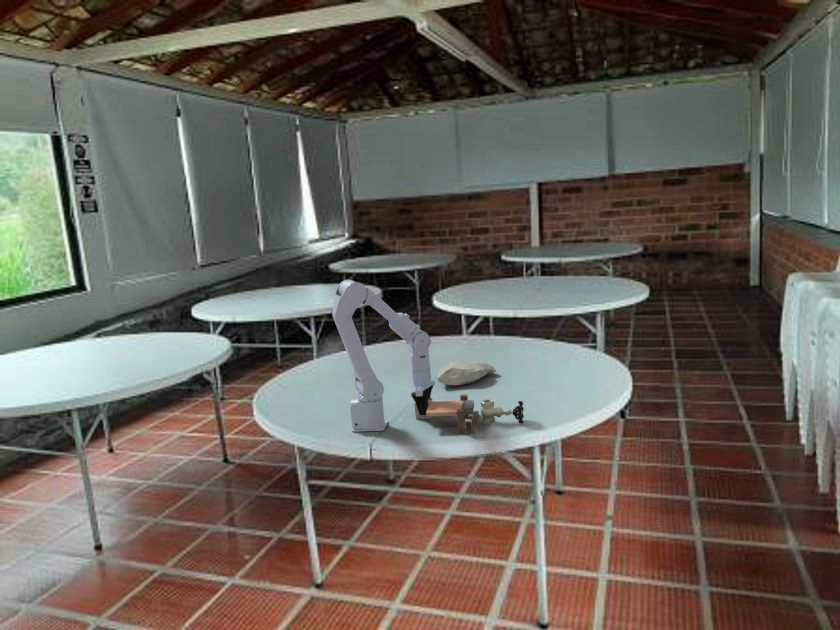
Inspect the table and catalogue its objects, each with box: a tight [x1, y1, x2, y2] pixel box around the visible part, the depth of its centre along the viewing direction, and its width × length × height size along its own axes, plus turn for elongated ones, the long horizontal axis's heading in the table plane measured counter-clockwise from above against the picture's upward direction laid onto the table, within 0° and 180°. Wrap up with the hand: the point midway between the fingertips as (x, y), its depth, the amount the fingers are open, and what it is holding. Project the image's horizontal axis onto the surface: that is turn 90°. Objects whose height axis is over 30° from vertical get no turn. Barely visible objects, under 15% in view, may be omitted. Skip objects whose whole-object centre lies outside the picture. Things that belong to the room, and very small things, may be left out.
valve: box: [480, 398, 525, 425], centre depth 189 cm, size 7×7×12 cm
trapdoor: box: [426, 399, 475, 417], centre depth 190 cm, size 13×10×2 cm
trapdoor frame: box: [456, 394, 480, 435], centre depth 190 cm, size 5×15×6 cm, turn 172°
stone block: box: [414, 397, 434, 420], centre depth 200 cm, size 5×5×5 cm
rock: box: [436, 359, 497, 386], centre depth 235 cm, size 19×7×25 cm
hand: (424, 411), depth 200 cm, fingers closed on stone block, 5 cm apart
